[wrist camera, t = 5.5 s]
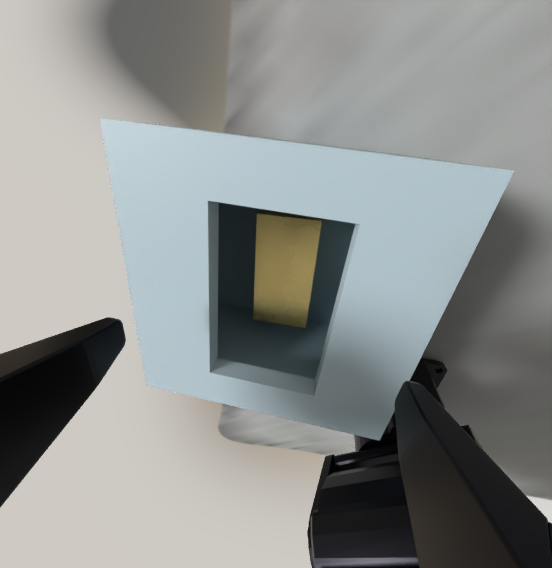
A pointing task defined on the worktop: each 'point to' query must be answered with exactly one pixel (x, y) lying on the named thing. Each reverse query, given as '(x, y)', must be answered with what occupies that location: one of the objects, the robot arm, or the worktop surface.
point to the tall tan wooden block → (284, 266)
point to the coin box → (327, 275)
